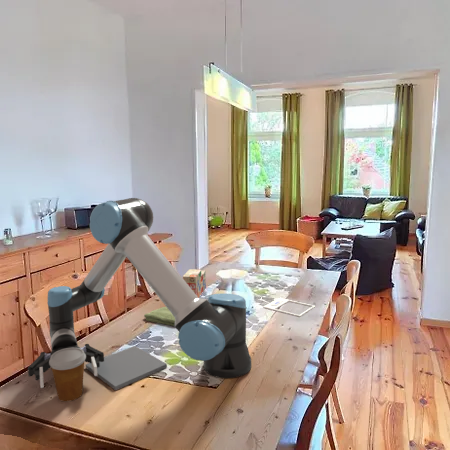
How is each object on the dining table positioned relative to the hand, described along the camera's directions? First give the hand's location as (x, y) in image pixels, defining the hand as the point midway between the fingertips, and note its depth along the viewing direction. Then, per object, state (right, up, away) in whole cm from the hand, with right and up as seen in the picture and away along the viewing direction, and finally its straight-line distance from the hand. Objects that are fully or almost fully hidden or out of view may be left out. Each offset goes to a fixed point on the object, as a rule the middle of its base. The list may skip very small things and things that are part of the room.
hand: (69, 377), depth 109 cm
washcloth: (+19, +2, +59) cm, 61 cm away
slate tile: (+11, -4, +19) cm, 22 cm away
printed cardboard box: (+27, +7, +89) cm, 93 cm away
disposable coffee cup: (-1, -7, +4) cm, 8 cm away
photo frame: (+70, +4, +70) cm, 99 cm away
